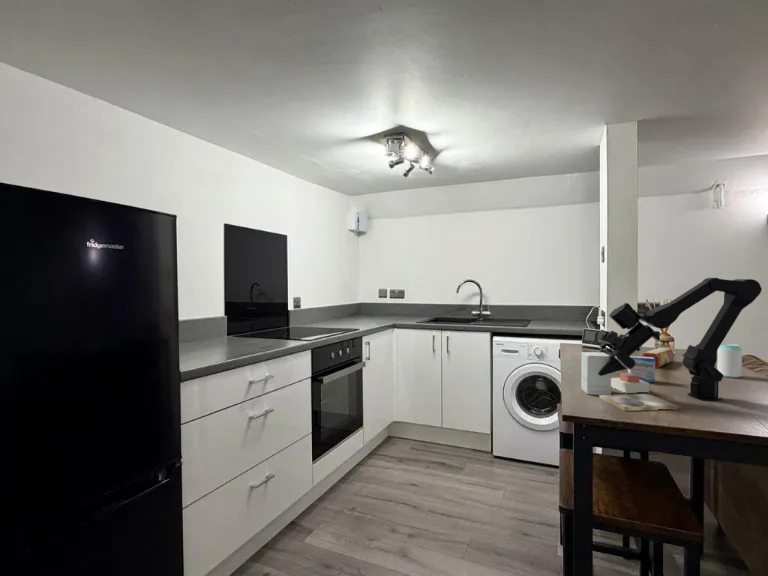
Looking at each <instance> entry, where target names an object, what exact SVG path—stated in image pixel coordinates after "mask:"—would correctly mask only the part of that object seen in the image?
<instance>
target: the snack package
mask: <svg viewBox="0 0 768 576" xmlns="http://www.w3.org/2000/svg"><path fill="white" fill-rule="evenodd" d="M641 357H653V358H654V359H655V369H658V368H660V367H662V366H664V365H667V364H669V363H671V362H673V361H674V351H673V350H672V349H671V348H669V347H658V348H655V349H652V350H649V351H645V352H643V353H642V355H641Z"/></svg>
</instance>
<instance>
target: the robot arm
mask: <svg viewBox="0 0 768 576" xmlns="http://www.w3.org/2000/svg"><path fill="white" fill-rule="evenodd" d="M762 289H763V287H762V285H761V283H759V282H758V280H756V279H752V278H749V279H748V278H746V279H745V278H736V279H724V278H719V277H706V278H705V279H703V280H702V281H701V282H700V283H698V284H696V285H695V286H693V287H692V288H691V289H688V290H687V291H685V292H684V293H682V294H680V295H679V296H678V297H676V298H674V299H673V300H670V301H669V302H667V303H664V304H660V305H659V306H658V305H657V306H655V307H654V308H652V309H649V310H647V311H646V312H643V313H638V312H637V310H635V309H634V308H633V307H632V305H630V303H628V302H625V303H623V304H622V305H619V306H618V307H617V308H614V309H613V310H612V311H611V312H610V314H609V315H608V317H609V318H610V319H611V320H612V321H614V322H615V323H616V324H617V325H618V326H619V327H620V328H621V329H622V330H625V329H627V330H628V331H626V332H625V334H622V333H621V334H618V332H616V331H614V330H610V331H609V332H608V331H606V330H604V329H603V328H602V329H600V331H599V333H598V335H597V337H596V338H597V339H599V340H601V341H602V342H601V343H600V344H599V345H598V347H599V352H602V353H606V354H607V355H609V361H608V362H607V363H606V364H605V366H604V367H603V368H602V369H601V370H600V371H599V373H598V374H599V375H600V376H603V375H606V374H609V373H611V374H613V373H616V372H620V371H624V370H628V369H630V370H631V369H632V368H633V367H634V366H635V361H634V360H633V359H632V358H631V357H630V356H633V354H634V353H635V352H640V351H641V349H642V348H641V347H643V345H644V344H645V343H647V342H648V341H649V340H650V339H651V338H652V339H654V340H656V341H660V340H661V336H660V335H661V332H660V331H658V330H654V329H653V328H656V329H662V330H663V329H666V328H668V327H670V326H671V325H672V324H673V323H674V322H676V320H677V319H678V318H679V316H680V315H681V314H682V313H684V312H685V311H687V310H688V309H690V308H691V307H693V306H694V305H696V304H698V303H699V302H701V301H703V300H704V299H706V298H707V297H709V296H711V295H712V294H713V293H715V292H721V293H723V304H722V305H721V307H720V309H719V310H718V311H717V314H716V315H715V318H714V319H713V320H712V322H711V324H710V325H709V327H708V328H707V331H706V332H705V334H704V335H703V337H702V339H701V341H700V342H699V343H698V344H696V345H695V346H694V345H691V344H689V345H688V346H687V349H686V351H685V352H684V353H683V354H682V357H683V359H682V363H683V366H684V367H685V369H687V370H688V372H689V375H691V381H690V384H689V385H690V388H689V389H690V392H687V395H688V396H690V397H693V398H695V399H699V400H701V401H722V400H724V399H723V397H720V396H719V383H720V382H721V381H722V380H723V378H724V377H723V374H722V373H721V372H720V371H718V370H717V367H715V366H716V365H717V362H718V348H719V347H720V345H721V344H723V342H724V340H725V339H726V336H727V335H728V333H729V331H730V330H731V329H732V327H733V325H734V324H735V322H736V321H737V319H738V318H739V316H740V314H741V312H742V310H744V309H746V308H747V307H748V306H749V305H751V304H752V303H754V301H755V300H756V299H757V298H758V297H759V296H760V295H761V293H762ZM642 322H644V323H646V324H643V323H642ZM652 327H653V328H652Z"/></svg>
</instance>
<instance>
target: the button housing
mask: <svg viewBox="0 0 768 576" xmlns="http://www.w3.org/2000/svg"><path fill="white" fill-rule="evenodd" d="M611 388H613V389H615V388H616V389H615V390H618V391H619V392H623V393H624V392H625V393H624V394H638V393H637V392H648V393H650V382H644V381H642V380H639V382H629V383H627V382H625V381H622V380H620V377H611Z"/></svg>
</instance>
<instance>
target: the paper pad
mask: <svg viewBox="0 0 768 576" xmlns="http://www.w3.org/2000/svg"><path fill="white" fill-rule="evenodd" d="M598 396H599V397H598V399H599V398H600V399H599V400H601V399H602V401H603V400H604V401H603V402H605V401H606V402H605V403H607V402H608V403H607V404H609V403H610V405H611V404H612V406H613V407H616V408H617V409H620V410H622V411H623V412H630V411H633V412H634V411H659V410H658V409H672V410H678V408H679V407H678V406H679V405H676V404H674V403H672V402H670V401H667V400H664V399H662V398H659V397H657V396H654V395H651V394H649V393H627V394H611V395H598Z"/></svg>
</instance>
